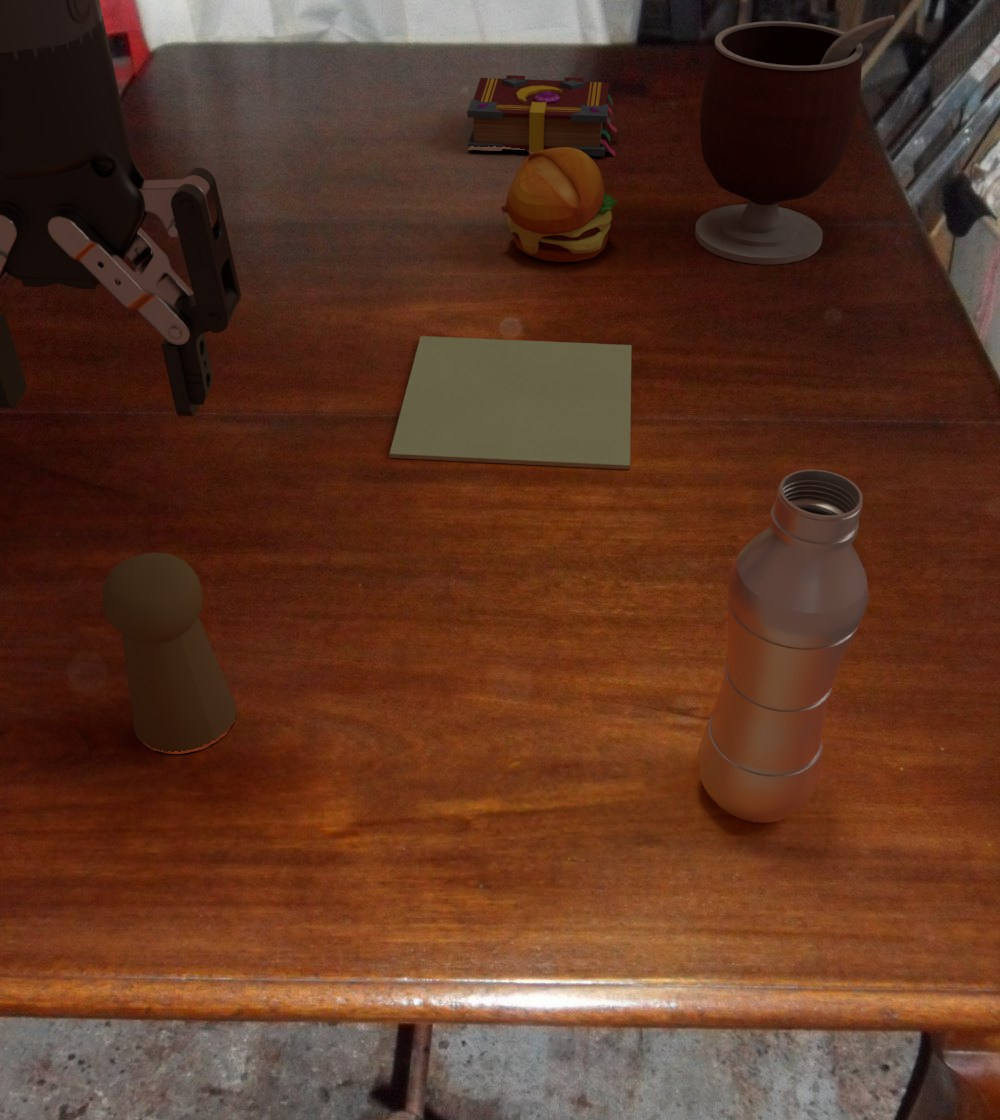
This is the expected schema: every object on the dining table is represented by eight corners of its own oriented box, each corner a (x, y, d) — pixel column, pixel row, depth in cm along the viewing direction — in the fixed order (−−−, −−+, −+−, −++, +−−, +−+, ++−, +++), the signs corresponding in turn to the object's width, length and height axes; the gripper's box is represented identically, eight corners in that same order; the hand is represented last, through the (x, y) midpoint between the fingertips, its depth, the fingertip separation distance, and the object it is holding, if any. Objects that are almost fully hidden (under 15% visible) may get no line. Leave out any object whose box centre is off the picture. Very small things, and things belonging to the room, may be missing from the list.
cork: (121, 701, 71) (74, 555, 63) (218, 670, 73) (184, 524, 65) (149, 768, 67) (102, 622, 59) (251, 733, 69) (219, 587, 61)
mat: (389, 458, 89) (389, 453, 89) (420, 340, 102) (420, 335, 101) (629, 469, 88) (630, 465, 88) (631, 349, 101) (631, 344, 100)
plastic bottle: (752, 858, 63) (827, 558, 49) (667, 780, 67) (713, 481, 52) (837, 803, 66) (931, 504, 51) (750, 731, 69) (816, 434, 55)
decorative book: (479, 117, 138) (479, 70, 135) (618, 122, 137) (621, 75, 134) (468, 154, 131) (467, 105, 127) (614, 160, 129) (618, 111, 126)
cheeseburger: (630, 230, 117) (631, 135, 108) (590, 300, 112) (587, 207, 103) (536, 210, 119) (529, 116, 111) (492, 278, 115) (482, 185, 106)
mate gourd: (673, 257, 113) (699, 22, 99) (700, 199, 122) (727, -23, 108) (839, 279, 110) (890, 39, 95) (853, 218, 119) (902, -8, 105)
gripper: (211, -12, 46) (269, 369, 57) (-145, -22, 47) (-17, 356, 58) (156, 50, 41) (232, 456, 52) (-244, 39, 41) (-82, 441, 53)
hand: (101, 403), depth 55 cm, fingers open, 8 cm apart
